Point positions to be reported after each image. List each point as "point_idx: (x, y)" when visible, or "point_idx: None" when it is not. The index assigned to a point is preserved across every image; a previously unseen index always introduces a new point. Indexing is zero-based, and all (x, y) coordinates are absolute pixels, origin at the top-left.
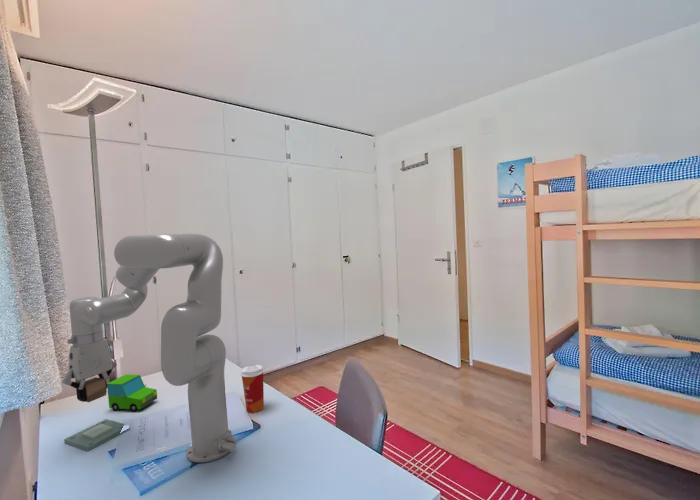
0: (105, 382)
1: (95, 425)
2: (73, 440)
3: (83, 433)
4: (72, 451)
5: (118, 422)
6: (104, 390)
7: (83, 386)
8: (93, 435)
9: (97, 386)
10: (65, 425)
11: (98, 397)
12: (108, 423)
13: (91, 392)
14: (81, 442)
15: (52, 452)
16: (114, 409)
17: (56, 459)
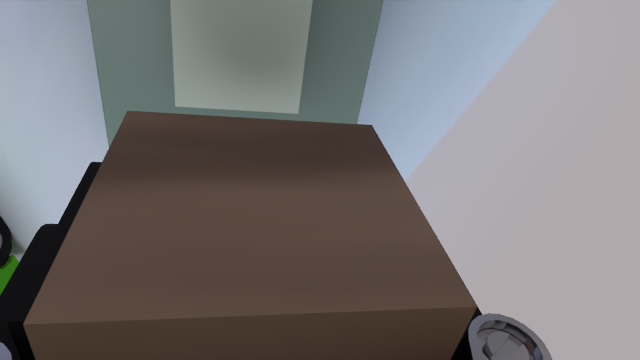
0: (36, 285)
1: None
2: (348, 103)
3: (296, 104)
4: (400, 25)
5: (90, 17)
6: (137, 152)
7: (475, 351)
8: (299, 5)
9: (256, 235)
10: None
11: (247, 121)
12: (136, 84)
13: (359, 192)
14: (359, 26)
15: (415, 126)
16: (4, 236)
17: (470, 36)
